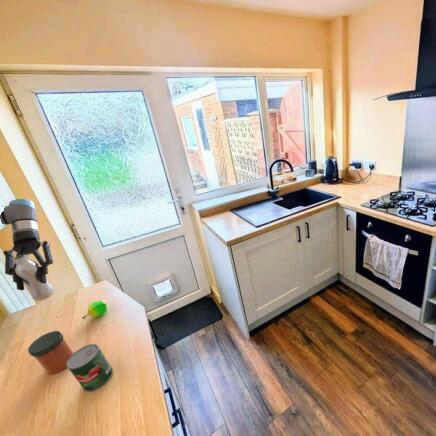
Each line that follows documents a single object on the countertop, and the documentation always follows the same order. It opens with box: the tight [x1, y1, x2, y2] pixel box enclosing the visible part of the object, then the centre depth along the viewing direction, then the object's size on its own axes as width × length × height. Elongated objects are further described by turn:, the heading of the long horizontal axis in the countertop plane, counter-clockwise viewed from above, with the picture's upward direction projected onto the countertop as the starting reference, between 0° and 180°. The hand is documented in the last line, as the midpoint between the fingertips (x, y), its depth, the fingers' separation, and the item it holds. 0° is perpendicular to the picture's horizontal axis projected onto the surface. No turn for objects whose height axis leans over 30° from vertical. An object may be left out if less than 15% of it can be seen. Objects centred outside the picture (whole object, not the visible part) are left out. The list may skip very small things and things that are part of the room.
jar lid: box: [27, 330, 64, 358], centre depth 80 cm, size 8×8×2 cm
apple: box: [81, 300, 108, 321], centre depth 102 cm, size 7×6×9 cm
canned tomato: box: [67, 343, 114, 393], centre depth 75 cm, size 8×8×11 cm
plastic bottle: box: [13, 254, 55, 302], centre depth 98 cm, size 6×7×20 cm
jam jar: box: [34, 338, 75, 376], centre depth 82 cm, size 8×8×11 cm
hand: (32, 285), depth 95 cm, fingers closed on plastic bottle, 6 cm apart
